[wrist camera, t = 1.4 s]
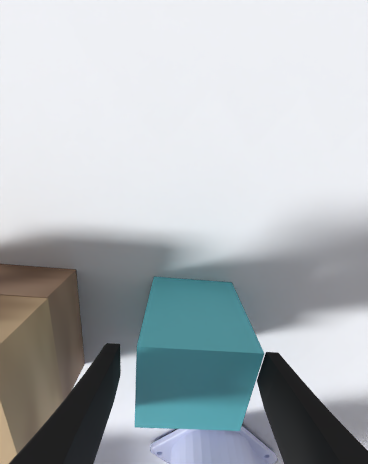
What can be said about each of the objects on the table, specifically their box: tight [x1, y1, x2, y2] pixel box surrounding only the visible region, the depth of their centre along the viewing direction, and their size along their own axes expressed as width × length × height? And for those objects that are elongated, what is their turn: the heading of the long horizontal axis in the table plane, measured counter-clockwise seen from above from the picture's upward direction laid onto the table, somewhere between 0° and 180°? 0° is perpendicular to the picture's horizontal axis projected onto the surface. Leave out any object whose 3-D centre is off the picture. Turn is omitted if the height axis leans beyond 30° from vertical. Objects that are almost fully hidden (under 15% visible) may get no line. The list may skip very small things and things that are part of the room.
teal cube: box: [135, 277, 264, 431], centre depth 10 cm, size 5×5×5 cm
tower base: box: [0, 264, 85, 401], centre depth 11 cm, size 8×8×3 cm
